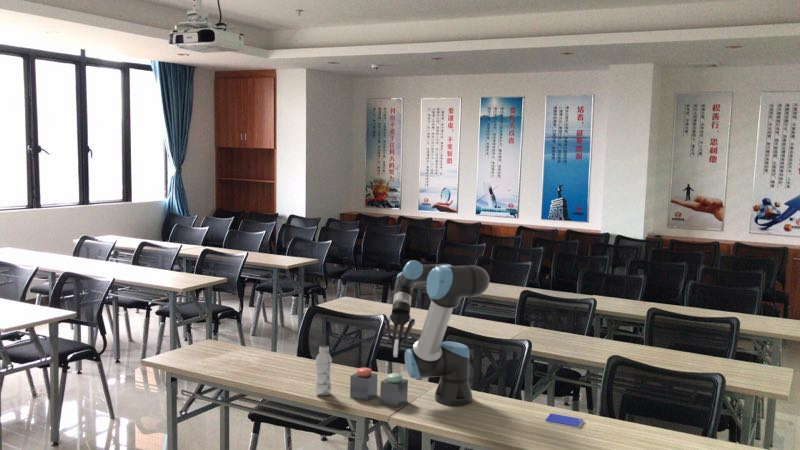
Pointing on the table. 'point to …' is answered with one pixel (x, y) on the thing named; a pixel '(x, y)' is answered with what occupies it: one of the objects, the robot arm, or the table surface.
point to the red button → (364, 372)
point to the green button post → (394, 393)
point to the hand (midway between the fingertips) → (395, 355)
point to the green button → (394, 378)
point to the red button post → (363, 387)
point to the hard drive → (564, 420)
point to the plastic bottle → (323, 371)
